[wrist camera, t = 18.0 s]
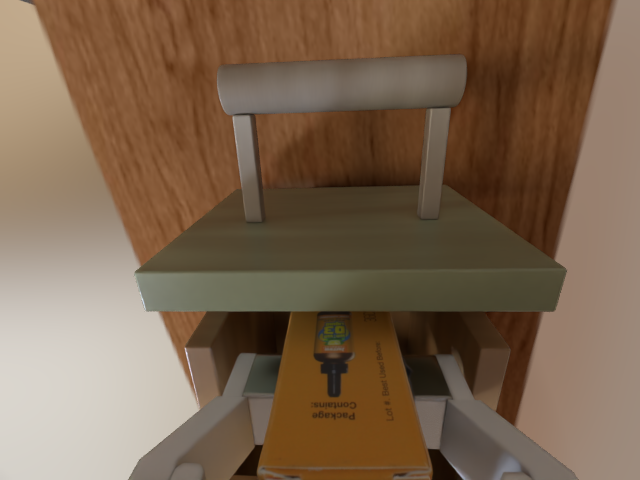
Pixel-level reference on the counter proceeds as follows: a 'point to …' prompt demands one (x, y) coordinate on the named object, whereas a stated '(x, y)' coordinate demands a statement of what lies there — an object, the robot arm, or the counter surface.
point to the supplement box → (343, 403)
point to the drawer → (348, 239)
